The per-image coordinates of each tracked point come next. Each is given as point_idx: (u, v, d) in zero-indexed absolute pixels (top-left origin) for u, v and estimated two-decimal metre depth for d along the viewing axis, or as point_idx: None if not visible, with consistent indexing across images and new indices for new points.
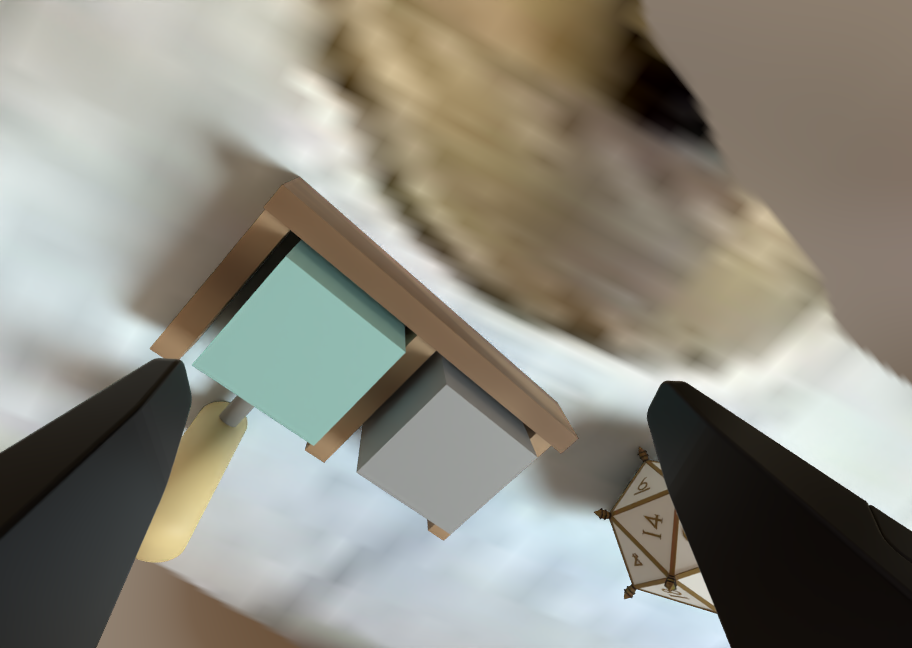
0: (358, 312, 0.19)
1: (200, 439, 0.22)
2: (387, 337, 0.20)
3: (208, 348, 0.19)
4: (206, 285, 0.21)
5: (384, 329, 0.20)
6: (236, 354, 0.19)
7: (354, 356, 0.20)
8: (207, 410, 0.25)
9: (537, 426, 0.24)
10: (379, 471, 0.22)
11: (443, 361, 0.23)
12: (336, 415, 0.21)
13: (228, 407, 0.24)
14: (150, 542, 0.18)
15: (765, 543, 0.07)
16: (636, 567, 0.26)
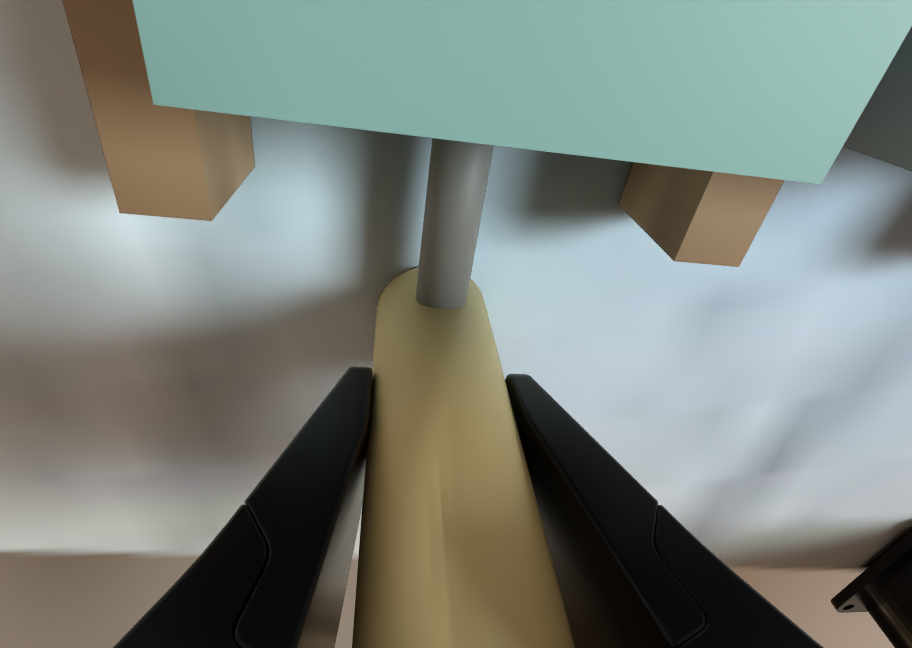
0: None
1: (410, 372, 0.08)
2: None
3: None
4: None
5: None
6: None
7: None
8: (385, 304, 0.10)
9: None
10: None
11: None
12: None
13: (422, 269, 0.09)
14: None
15: (560, 546, 0.07)
16: None
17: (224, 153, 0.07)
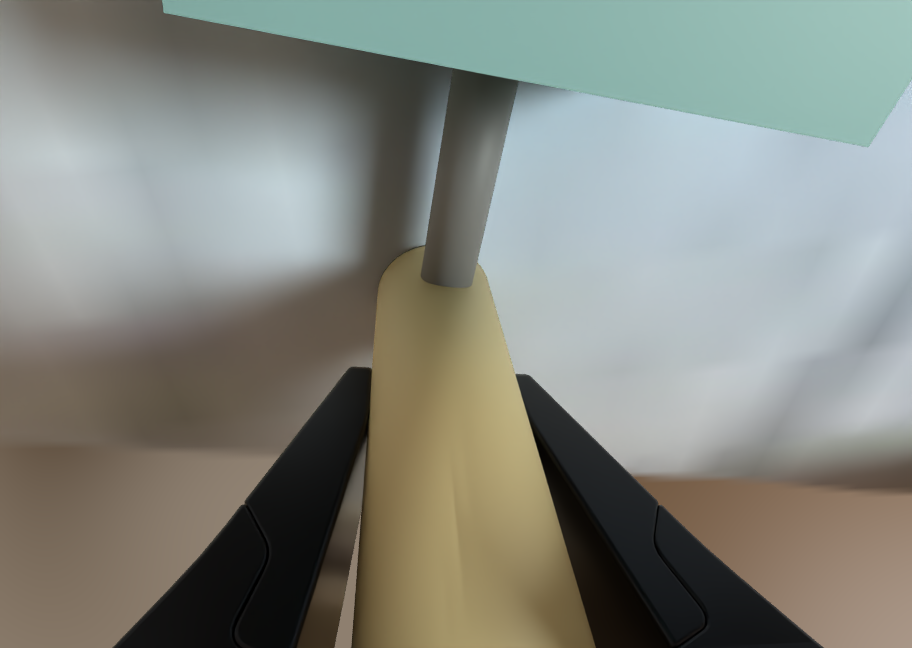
0: None
1: (416, 347, 0.07)
2: None
3: None
4: None
5: None
6: None
7: None
8: (388, 283, 0.10)
9: None
10: None
11: None
12: None
13: (430, 244, 0.09)
14: None
15: None
16: None
17: None
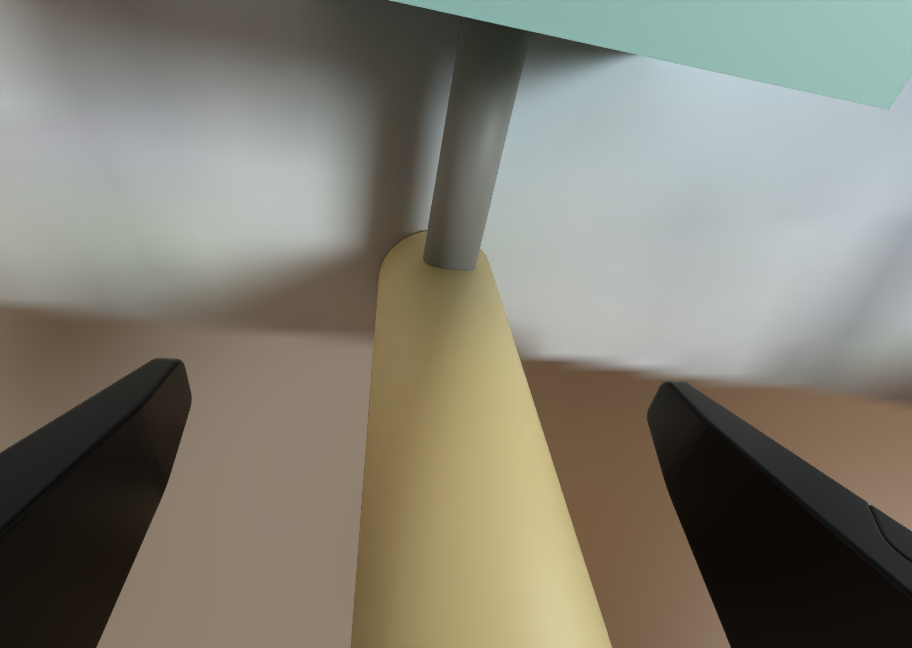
0: None
1: (418, 328, 0.07)
2: None
3: None
4: None
5: None
6: None
7: None
8: (389, 267, 0.10)
9: None
10: None
11: None
12: None
13: (433, 226, 0.08)
14: None
15: (765, 543, 0.07)
16: None
17: None
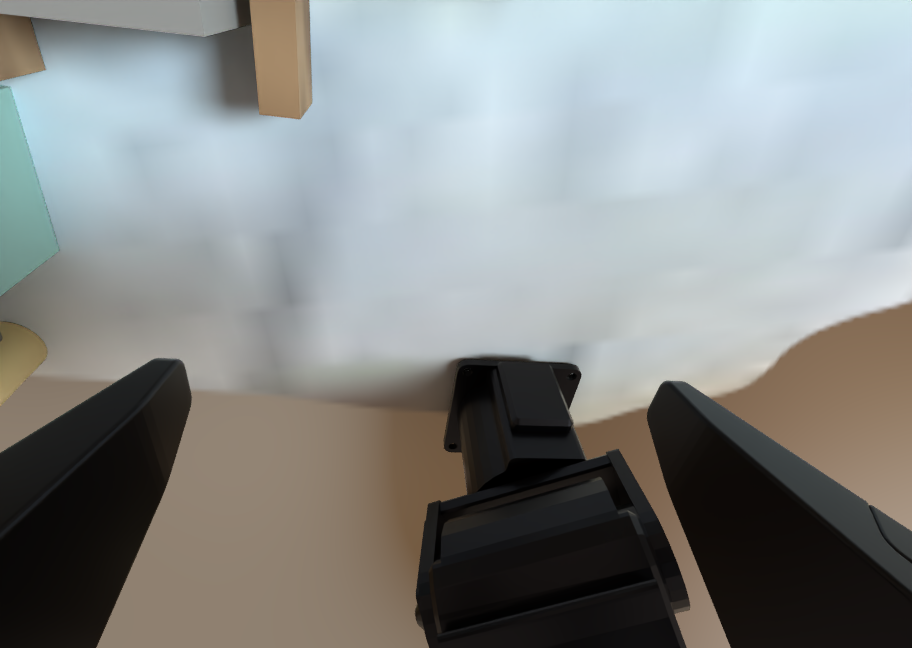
0: None
1: None
2: None
3: None
4: None
5: None
6: None
7: None
8: None
9: None
10: None
11: None
12: None
13: None
14: None
15: (765, 543, 0.07)
16: None
17: None
